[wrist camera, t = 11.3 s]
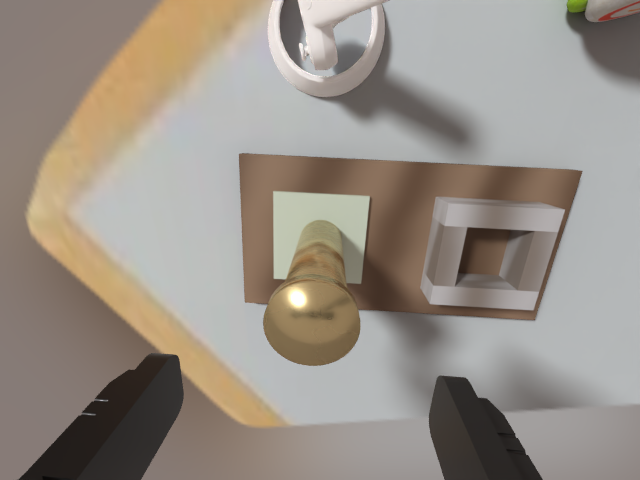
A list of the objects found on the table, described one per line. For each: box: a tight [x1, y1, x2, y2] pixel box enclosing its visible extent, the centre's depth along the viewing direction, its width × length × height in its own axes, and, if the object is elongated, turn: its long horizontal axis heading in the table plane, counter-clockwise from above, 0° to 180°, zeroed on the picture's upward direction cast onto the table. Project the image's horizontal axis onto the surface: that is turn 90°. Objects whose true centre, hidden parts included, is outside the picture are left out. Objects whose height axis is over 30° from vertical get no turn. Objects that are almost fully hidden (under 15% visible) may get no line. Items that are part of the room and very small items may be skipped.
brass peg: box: [263, 220, 360, 366], centre depth 17 cm, size 4×4×11 cm
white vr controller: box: [268, 0, 389, 97], centre depth 17 cm, size 8×12×7 cm
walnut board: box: [239, 153, 582, 320], centre depth 22 cm, size 24×12×4 cm, turn 87°
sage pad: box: [273, 191, 370, 284], centre depth 23 cm, size 7×7×1 cm
